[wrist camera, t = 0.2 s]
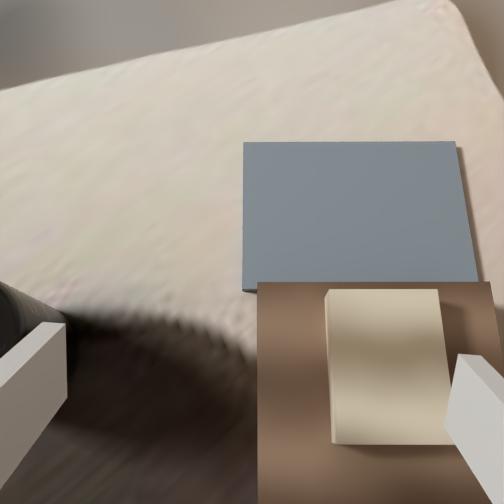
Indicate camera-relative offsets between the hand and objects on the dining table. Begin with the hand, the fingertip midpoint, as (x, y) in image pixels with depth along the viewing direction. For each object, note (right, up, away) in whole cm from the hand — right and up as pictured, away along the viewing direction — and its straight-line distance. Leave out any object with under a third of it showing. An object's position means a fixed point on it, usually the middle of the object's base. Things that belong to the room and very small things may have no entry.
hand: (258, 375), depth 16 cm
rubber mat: (+7, +7, +19) cm, 21 cm away
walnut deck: (+7, -5, +14) cm, 17 cm away
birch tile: (+7, -2, +11) cm, 13 cm away
